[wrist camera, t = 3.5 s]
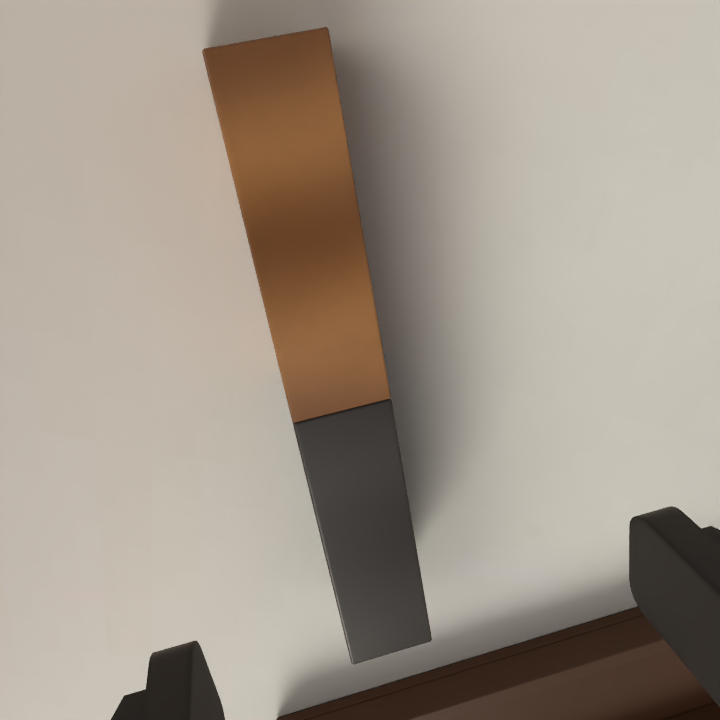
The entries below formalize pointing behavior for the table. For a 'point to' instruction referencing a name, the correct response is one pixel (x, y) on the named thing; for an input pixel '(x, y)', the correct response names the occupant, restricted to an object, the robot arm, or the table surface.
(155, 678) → the robot arm
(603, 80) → the table surface
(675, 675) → the tool tray
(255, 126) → the whetstone
